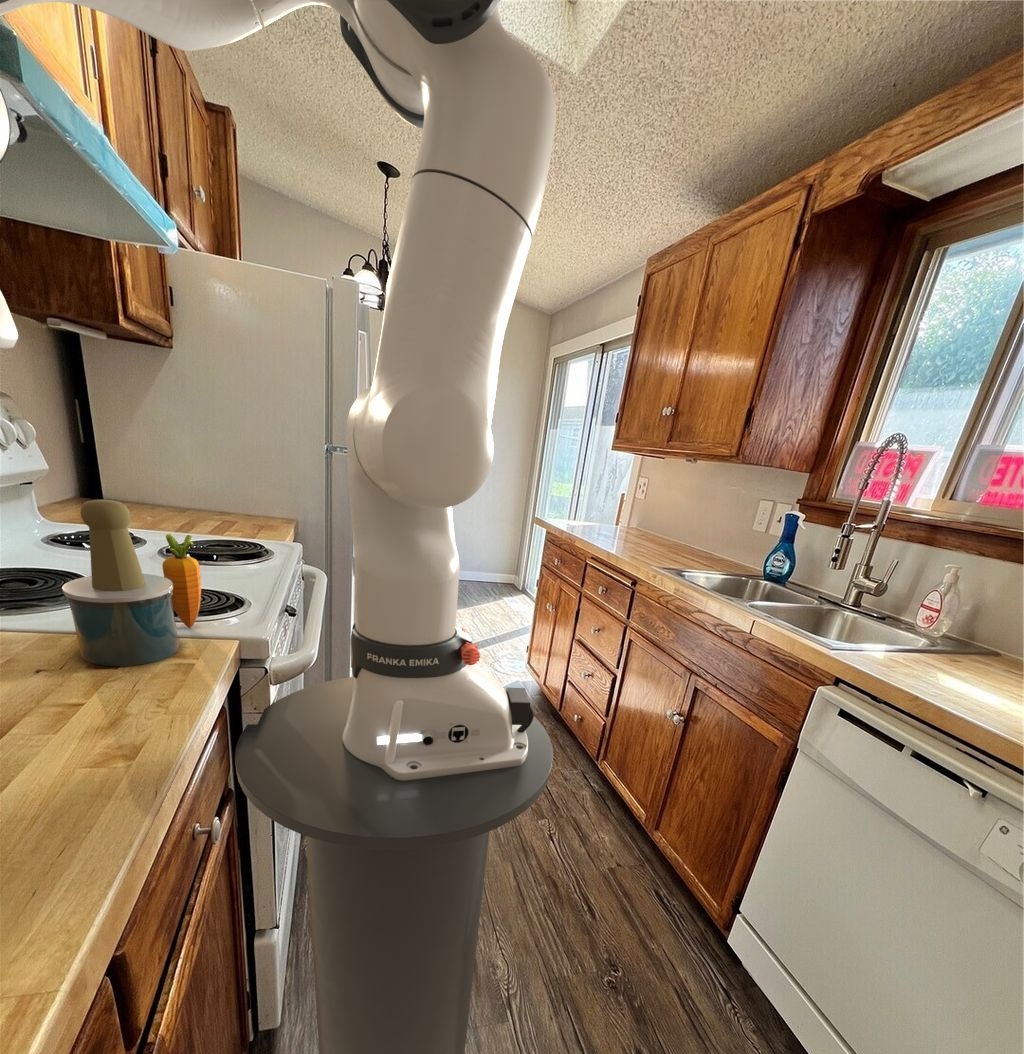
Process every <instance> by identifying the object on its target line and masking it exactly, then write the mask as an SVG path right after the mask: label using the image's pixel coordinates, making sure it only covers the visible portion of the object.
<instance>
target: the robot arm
mask: <svg viewBox="0 0 1024 1054" xmlns="http://www.w3.org/2000/svg"><path fill="white" fill-rule="evenodd" d="M500 1H501V0H252V1H251V0H0V17H2V16H4V15H7V14H10V13H12V12H14V11H17V10H19V9H20V10H21V9H22V8H24V7H28V6H31V5H35V4H42V3H43V4H44V3H63V4H71V5H75V6H81V7H85V8H89V9H92V10H94V11H97V12H100V13H102V14H105V15H108V16H110V17H113V18H115V19H117V20H119V21H122V22H124V23H126V24H128V25H130V26H132V27H134V28H136V29H138V30H140V31H142V32H143V33H145V34H147V35H149V36H151V37H152V38H154V39H156V40H157V41H160V42H161V43H163V44H165V45H166V46H167V45H168V46H170V47H173V48H175V49H176V50H177V49H178V50H180V51H185V52H195V51H200V50H201V51H202V50H207V49H213V48H218V47H222V46H226V45H229V44H232V43H234V42H237V41H239V40H242V39H244V38H246V37H247V36H250V35H252V34H254V33H255V32H257V31H259V30H261V29H262V28H263V26H264V27H266V26H268V25H270V24H272V23H274V22H275V21H277V20H279V19H280V18H282V17H284V16H286V15H287V14H289V13H292V12H293V11H295V10H297V9H300V8H303V7H306V6H310V5H320V6H324V7H327V8H329V9H331V10H333V11H335V12H336V13H337V14H338V15H339V25H340V27H339V28H340V33H341V36H342V38H343V41H344V42H345V44H346V45H347V46H348V48H349V49H350V51H351V52H352V53H353V55H354V56H355V58H356V59H357V61H358V62H359V63H360V65H361V66H362V68H363V69H364V71H365V72H366V73H367V75H368V77H369V79H370V80H371V82H372V83H373V85H374V87H375V88H376V90H377V91H378V93H379V94H380V95H381V97H382V99H383V100H384V101H385V102H386V103H387V105H388V106H389V107H390V108H391V110H392V111H393V112H394V113H395V114H396V115H397V116H398V117H399V118H400V119H402V120H403V121H404V122H405V123H407V124H409V125H411V126H412V127H415V128H417V129H421V131H422V132H421V138H420V143H419V147H418V152H417V156H416V160H415V163H414V167H413V172H412V176H411V180H410V184H409V189H408V193H407V197H406V200H405V201H406V202H405V206H404V209H403V213H402V218H401V222H400V227H399V231H398V235H397V240H396V243H395V247H394V251H393V256H392V261H391V265H390V269H389V273H388V278H387V282H386V287H385V288H386V290H385V292H386V294H385V303H384V312H383V318H382V325H381V332H380V337H379V343H378V350H377V356H376V361H375V368H374V372H373V378H372V382H371V385H370V386H368V387H367V388H366V389H364V390H363V391H362V392H361V393H360V394H359V395H358V396H357V397H356V399H355V400H354V402H353V404H352V405H351V407H350V409H349V412H348V416H347V420H346V426H345V432H346V433H345V437H346V459H347V477H348V479H347V480H348V493H349V506H350V507H349V508H350V519H351V520H350V521H351V532H352V541H353V557H354V608H355V609H354V618H355V619H354V623H353V624H352V629H351V634H350V639H349V641H350V642H349V645H350V647H349V648H350V650H349V653H350V656H349V657H350V668H351V673H352V677H353V676H354V683H353V692H352V699H351V705H350V711H349V715H348V719H347V723H346V726H345V729H344V732H343V736H342V740H343V744H344V746H345V747H346V749H347V750H348V751H349V752H350V753H351V754H352V755H354V756H355V757H357V758H358V759H360V760H362V761H365V762H367V763H370V764H372V765H375V766H378V767H380V768H382V769H383V770H384V771H385V772H386V773H387V774H389V775H390V776H391V777H393V778H394V779H397V780H401V781H407V780H414V779H422V778H430V777H438V776H445V775H453V774H461V773H468V772H476V771H484V770H491V769H499V768H507V767H514V766H519V765H521V764H522V763H523V762H524V761H525V759H526V757H527V754H528V738H527V734H526V731H525V730H526V729H527V728H528V727H529V726H530V724H531V723H532V721H533V717H535V713H534V709H533V707H532V706H531V701H530V697H529V695H528V692H527V690H526V687H507V686H506V688H504V686H503V685H502V683H501V682H500V681H499V680H498V679H497V678H496V677H495V676H493V675H492V674H491V673H489V672H488V671H486V670H485V669H484V668H482V667H481V666H480V665H478V664H477V663H478V662H479V661H480V658H481V654H480V653H481V652H480V651H479V647H478V646H477V645H476V644H475V643H473V638H472V637H471V636H470V635H469V634H468V632H467V630H466V629H465V627H461V629H460V628H459V627H457V626H456V625H457V612H458V599H459V598H458V597H459V585H460V584H459V582H460V569H461V568H460V567H461V565H460V557H459V553H458V548H457V545H456V537H455V529H454V519H453V518H454V517H453V508H452V507H454V506H457V505H460V504H462V503H464V502H466V501H467V500H470V498H472V497H473V496H475V494H476V493H477V492H478V491H479V490H480V489H481V487H482V486H483V485H484V483H485V481H486V479H487V478H488V475H489V473H490V470H491V467H492V464H493V458H494V439H493V433H492V427H491V425H492V419H493V414H494V413H493V412H494V405H495V399H496V392H497V385H498V377H499V368H500V361H501V354H502V348H503V343H504V338H505V334H506V330H507V326H508V322H509V319H510V316H511V312H512V309H513V305H514V302H515V299H516V295H517V292H518V289H519V285H520V282H521V279H522V275H523V272H524V268H525V265H526V261H527V258H528V255H529V252H530V248H531V245H532V241H533V239H534V236H535V232H536V227H537V225H538V221H539V216H540V212H541V208H542V204H543V200H544V195H545V190H546V186H547V182H548V181H547V180H548V177H549V176H548V175H549V170H550V164H551V158H552V152H553V147H554V140H555V139H554V138H555V131H556V124H557V102H556V96H555V91H554V87H553V85H552V82H551V79H550V77H549V75H548V73H547V71H546V70H545V68H544V65H542V63H541V62H540V61H539V59H538V58H537V57H536V56H535V54H533V53H532V52H531V51H530V50H529V49H528V48H527V47H525V46H524V45H523V44H521V42H520V43H519V42H518V41H516V39H513V38H512V37H511V36H510V35H509V34H508V33H507V32H506V30H505V28H504V26H503V23H502V21H501V18H500V13H499V3H500ZM255 9H256V10H255ZM256 11H257V12H256ZM257 14H258V15H259V16H258V15H257ZM259 18H260V19H259ZM260 20H261V22H260ZM261 23H262V24H261ZM262 25H263V26H262ZM10 118H11V117H10V112H9V108H8V104H7V101H6V98H5V96H4V93H3V91H2V88H0V164H1V163H2V161H3V160H4V159H5V157H6V155H7V153H8V151H9V147H10V144H11V143H10V142H11V135H12V134H11V133H12V131H11V130H12V127H11V119H10ZM18 339H19V333H18V329H17V326H16V323H15V321H14V319H13V315H12V313H11V310H10V309H9V306H8V304H7V301H6V299H5V297H4V294H3V292H2V291H1V289H0V349H13V348H14V347H15V346H16V344H17V341H18Z"/></svg>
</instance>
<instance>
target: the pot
mask: <svg viewBox="0 0 1024 1054" xmlns="http://www.w3.org/2000/svg"><path fill="white" fill-rule="evenodd" d="M143 576H144V579H145V582H146V585H145V586H144V587H141V588H138V589H134V590H127V591H103V590H98V589H94V588H93V587H92V575H89V576H83V577H78V578H75V579H73V580H70V581H68V582H66V583H64V584H63V585H62V587H61V590H62V594H63V595H64V599H65V600H66V602H67V603H68V604H69V607H70V612H71V616H72V621H73V625H74V629H75V633H76V634H75V635H76V637H77V642H78V646H79V650H80V654H81V655H80V656H81V658H82V659H83V660H84V661H85V662H87V663H89V664H92V665H96V666H103V667H133V666H140V665H146V664H152V663H156V662H159V661H162V660H165V659H167V658H169V657H171V656H173V655H174V654H176V653H177V652H178V651H179V649H180V642H179V637H178V629H177V622H176V617H175V616H176V615H175V610H174V608H173V603H172V597H171V596H172V595H173V583H172V581H171V580H169V579H167V578H165V577H164V576H161V575H157V574H149V573H143Z"/></svg>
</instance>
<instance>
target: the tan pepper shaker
mask: <svg viewBox="0 0 1024 1054" xmlns="http://www.w3.org/2000/svg"><path fill="white" fill-rule="evenodd" d="M80 517H81V520H82V521H83V523H84V524H85V526H87V527H88V530H89V532H88V533H89V551H90V553H89V554H90V573H91V576H92V587H93V588H94V589H98V590H103V591H127V590H134V589H138V588H141V587H144V586H145V585H146V582H145V579H144V576H143V574H144V573H143V571H142V570H143V569H142V567H141V564H140V562H139V558H138V555H137V552H136V549H135V546H134V544H133V543H134V542H133V540H132V537H131V535H130V532H129V528H128V527H129V525H130V524H131V511H130V510H129V508H128V507H127V506H126V504H124V503H122V502H121V501H117V500H112V499H93V500H88V501H85V502H84V503H82V505H81V507H80Z"/></svg>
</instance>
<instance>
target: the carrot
mask: <svg viewBox="0 0 1024 1054" xmlns="http://www.w3.org/2000/svg"><path fill="white" fill-rule="evenodd" d="M192 537H193V536H192V535H190V534H186V536H185V537H184V539H183V543H182V544H183V545H182V544H181V545H180V544H179V543H178V541H177V539H176V538H175V537H174V535H172V534H171V533H167V534H165V539H166V542H167V543H168V546H169V551H170V552H171V553H172V554H173V555H171V556H168V557H167V558H166V559H165V560H163V562H162V566H161V567H162V572H163V577H165V578H167V579H169V580H171V581H172V583H173V595H172V596H171V597H172V603H173V610H174V613H175V614H176V615H177V617H178V619H180V621H181V622H182V623H183V625H184V626H186V627H187V628H188V629H191V628H192V627H193V626H194V625H195V622H196V620H197V617H198V616H199V611H200V608H201V600H202V599H201V598H202V583H201V580H202V579H201V570H200V563H199V561H198V560H197V559H196V558H194V557H192V556H189V555H187V552H188V550H189V549H190V547H192V546H194V542H193V541H191V540H192Z"/></svg>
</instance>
